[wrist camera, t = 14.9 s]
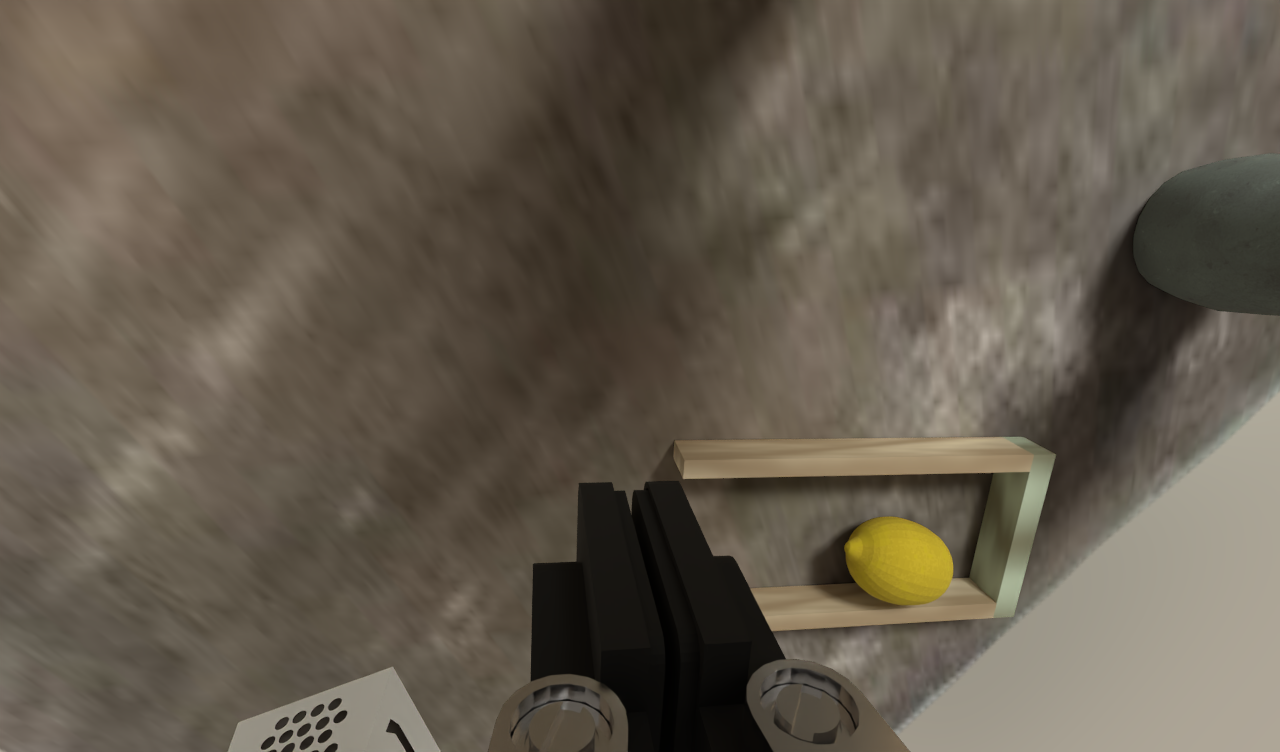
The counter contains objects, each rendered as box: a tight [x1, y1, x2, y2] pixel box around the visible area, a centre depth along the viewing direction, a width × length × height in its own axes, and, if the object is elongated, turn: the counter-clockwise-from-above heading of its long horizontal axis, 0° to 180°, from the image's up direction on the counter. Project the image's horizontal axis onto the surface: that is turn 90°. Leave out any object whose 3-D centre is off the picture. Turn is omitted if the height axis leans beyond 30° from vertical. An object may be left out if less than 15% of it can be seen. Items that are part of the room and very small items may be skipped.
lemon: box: [844, 517, 953, 605], centre depth 42 cm, size 6×6×8 cm
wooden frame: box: [673, 437, 1056, 631], centre depth 42 cm, size 12×25×3 cm, turn 87°
